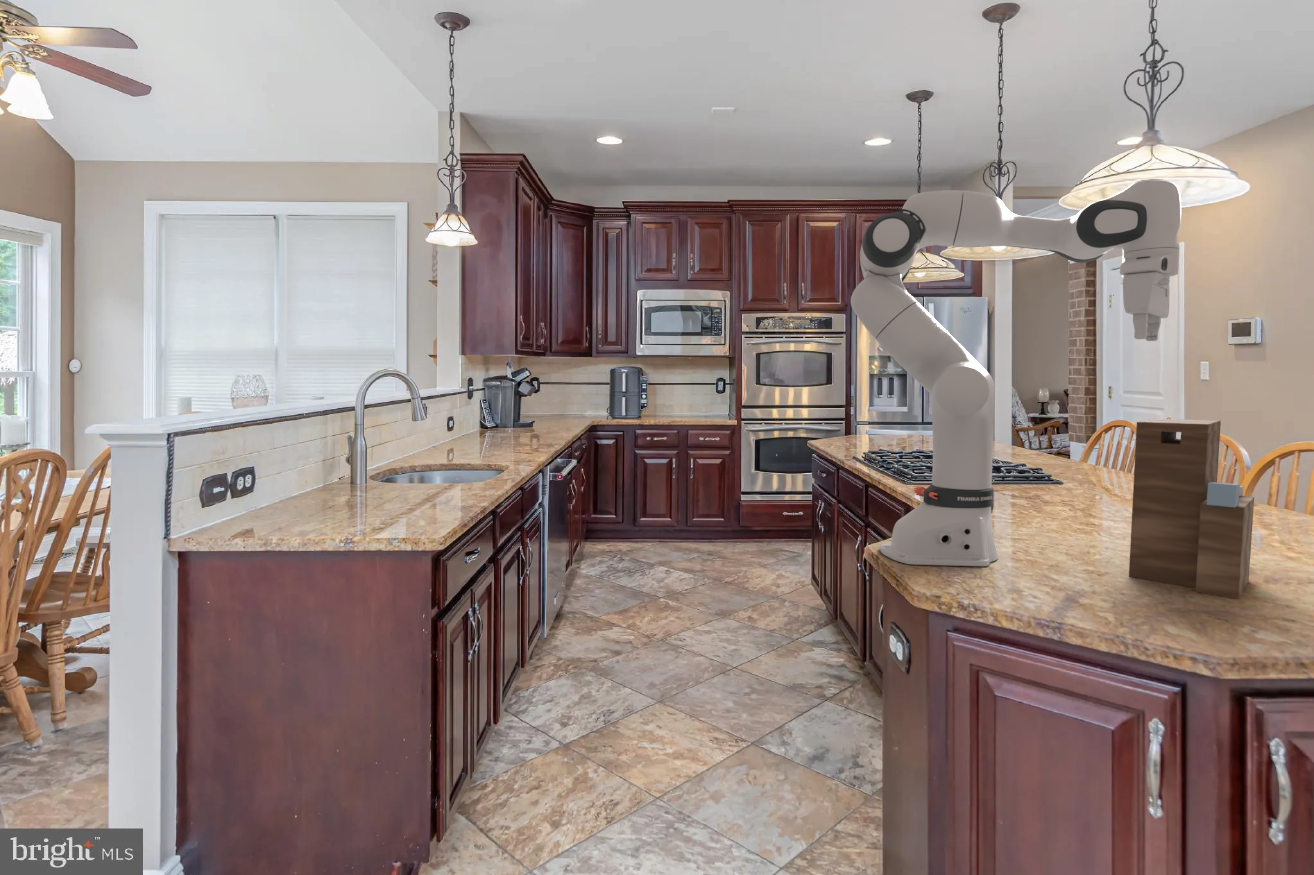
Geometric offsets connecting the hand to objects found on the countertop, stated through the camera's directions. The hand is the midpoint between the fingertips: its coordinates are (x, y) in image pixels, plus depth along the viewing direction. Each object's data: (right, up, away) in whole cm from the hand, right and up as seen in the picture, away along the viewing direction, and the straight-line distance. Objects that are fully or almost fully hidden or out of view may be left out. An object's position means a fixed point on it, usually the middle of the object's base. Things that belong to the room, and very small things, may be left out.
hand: (1146, 340), depth 134 cm
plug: (+2, -30, -17) cm, 34 cm away
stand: (0, -44, -11) cm, 45 cm away
